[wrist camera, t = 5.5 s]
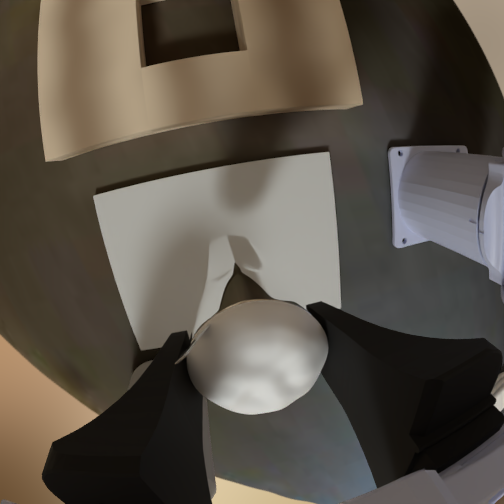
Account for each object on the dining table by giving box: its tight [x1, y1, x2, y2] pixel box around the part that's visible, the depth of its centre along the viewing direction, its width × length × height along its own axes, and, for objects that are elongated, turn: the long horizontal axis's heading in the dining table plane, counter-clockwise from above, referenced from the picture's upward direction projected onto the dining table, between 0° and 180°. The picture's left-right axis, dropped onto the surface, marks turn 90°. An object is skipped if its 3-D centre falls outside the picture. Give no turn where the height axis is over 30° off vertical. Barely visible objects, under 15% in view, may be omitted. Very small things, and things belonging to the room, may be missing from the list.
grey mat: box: [93, 152, 341, 350], centre depth 21 cm, size 16×12×1 cm
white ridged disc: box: [491, 372, 504, 412], centre depth 35 cm, size 10×10×4 cm
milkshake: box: [175, 234, 328, 414], centre depth 12 cm, size 4×5×10 cm
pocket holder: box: [38, 0, 363, 161], centre depth 15 cm, size 20×14×2 cm
